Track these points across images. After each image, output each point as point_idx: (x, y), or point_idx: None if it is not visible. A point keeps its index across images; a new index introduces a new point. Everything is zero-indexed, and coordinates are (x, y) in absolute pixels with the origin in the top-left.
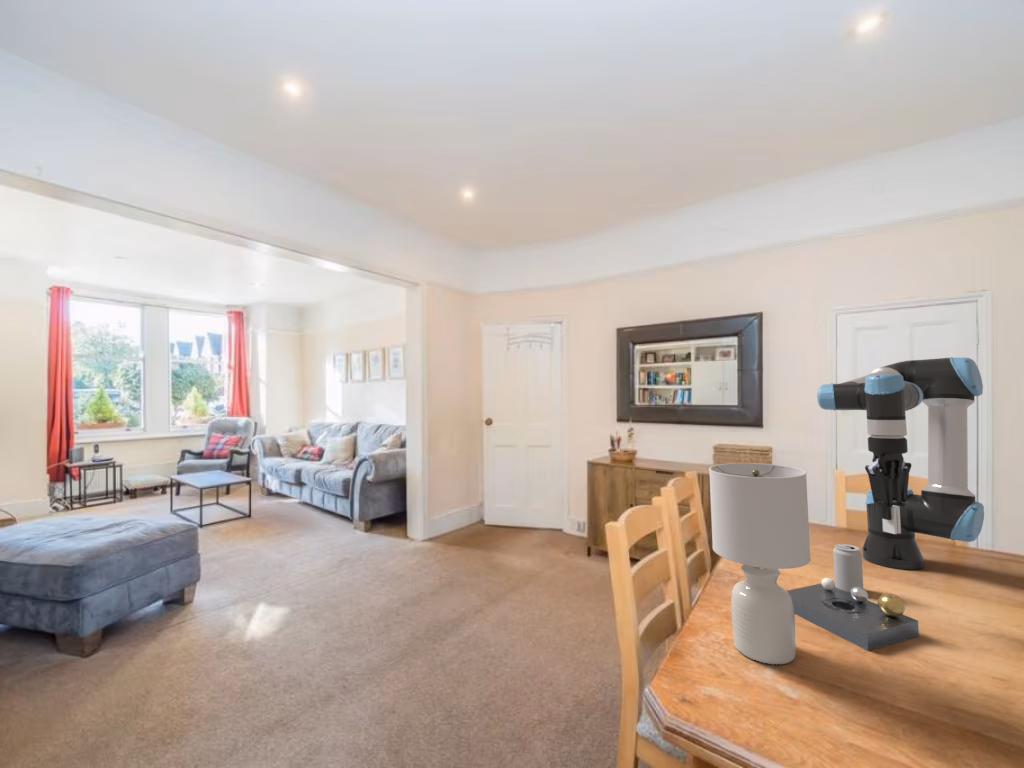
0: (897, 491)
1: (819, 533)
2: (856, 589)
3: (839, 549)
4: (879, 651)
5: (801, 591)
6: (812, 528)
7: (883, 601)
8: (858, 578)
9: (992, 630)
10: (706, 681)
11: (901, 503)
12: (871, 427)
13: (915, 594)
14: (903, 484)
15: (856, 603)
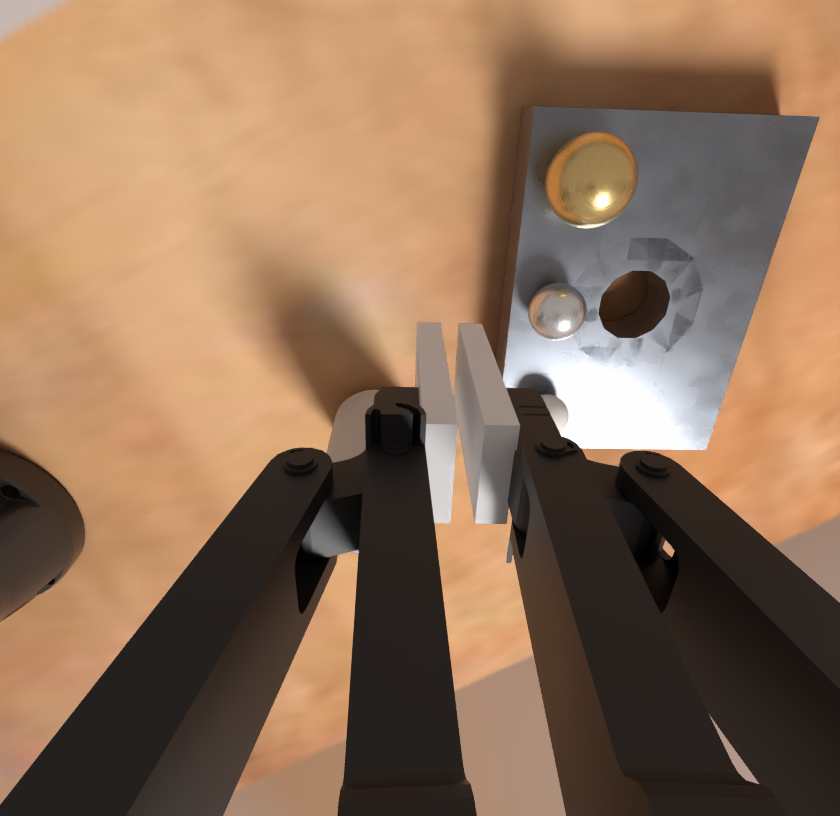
0: (434, 554)
1: (36, 715)
2: (579, 317)
3: None
4: (753, 98)
5: (635, 429)
6: (22, 744)
7: (635, 189)
8: None
9: (216, 10)
10: None
11: (390, 437)
12: None
13: (188, 319)
14: (240, 644)
15: None
